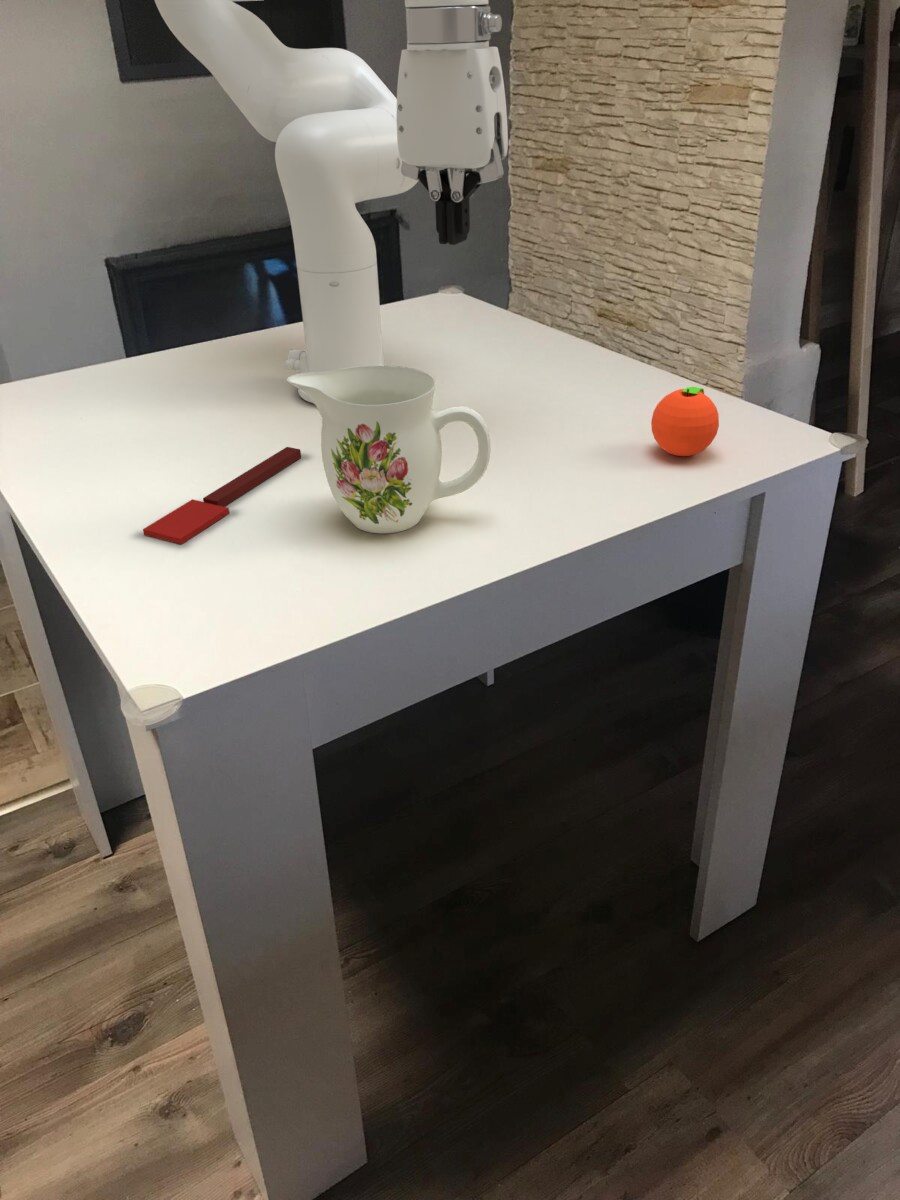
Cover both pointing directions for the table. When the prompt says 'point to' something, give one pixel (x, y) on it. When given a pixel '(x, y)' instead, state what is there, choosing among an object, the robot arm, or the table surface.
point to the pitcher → (386, 443)
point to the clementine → (685, 422)
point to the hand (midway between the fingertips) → (453, 241)
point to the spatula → (217, 501)
